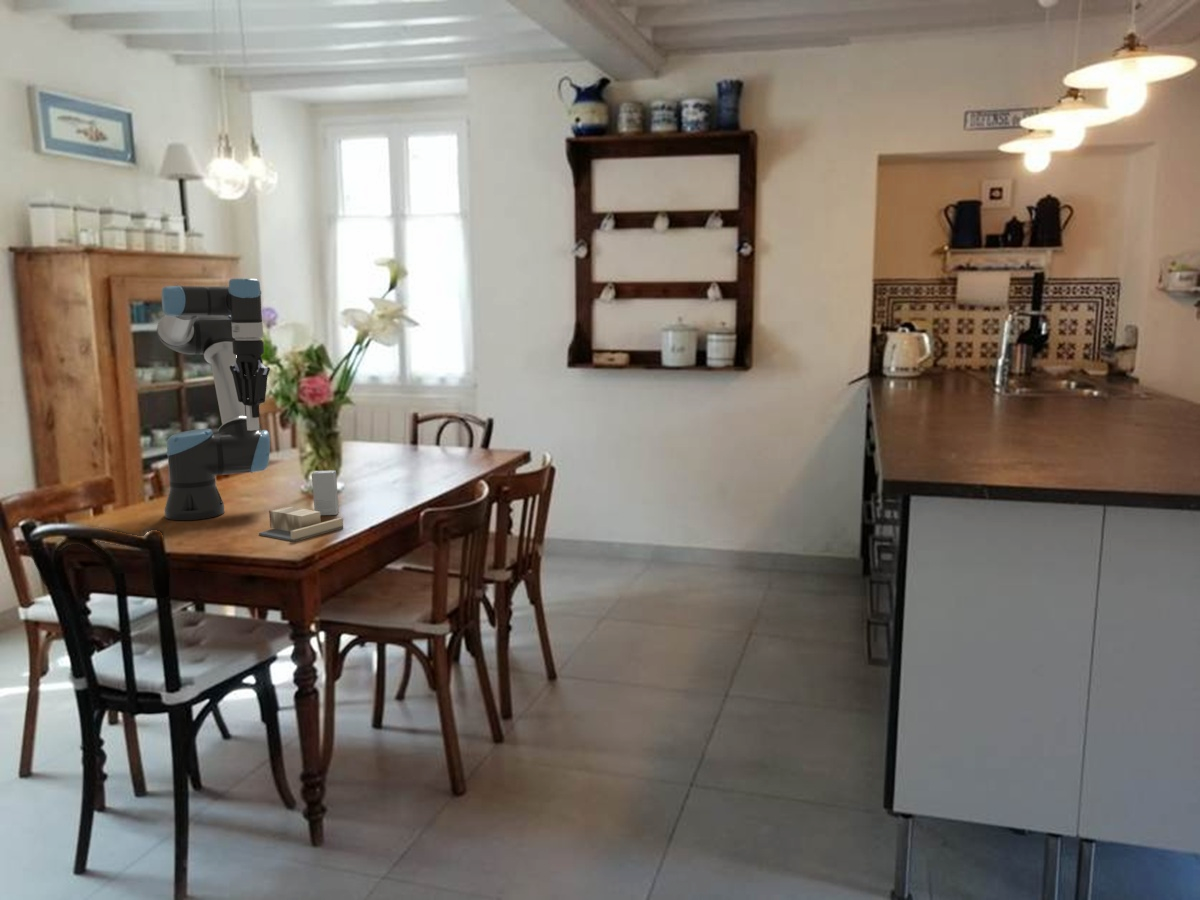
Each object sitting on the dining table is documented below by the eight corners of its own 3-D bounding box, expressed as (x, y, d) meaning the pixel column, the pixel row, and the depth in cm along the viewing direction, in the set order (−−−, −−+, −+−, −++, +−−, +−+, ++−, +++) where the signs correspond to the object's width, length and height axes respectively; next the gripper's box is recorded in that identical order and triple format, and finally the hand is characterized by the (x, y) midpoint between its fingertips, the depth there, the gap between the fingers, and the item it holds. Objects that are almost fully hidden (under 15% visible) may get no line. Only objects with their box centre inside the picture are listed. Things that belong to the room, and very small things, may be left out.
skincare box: (339, 512, 256) (337, 469, 254) (336, 515, 251) (334, 472, 249) (316, 512, 255) (314, 470, 253) (313, 516, 250) (311, 473, 249)
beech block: (269, 510, 235) (301, 516, 228) (288, 506, 240) (320, 511, 233) (270, 527, 235) (302, 533, 229) (288, 522, 240) (321, 528, 234)
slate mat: (259, 535, 230) (258, 525, 230) (308, 522, 244) (308, 512, 243) (294, 541, 224) (293, 531, 223) (343, 528, 237) (342, 518, 237)
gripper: (218, 339, 234) (224, 429, 238) (252, 340, 228) (258, 433, 232) (243, 338, 241) (248, 426, 245) (276, 339, 234) (281, 429, 238)
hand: (253, 429), depth 238 cm, fingers closed
